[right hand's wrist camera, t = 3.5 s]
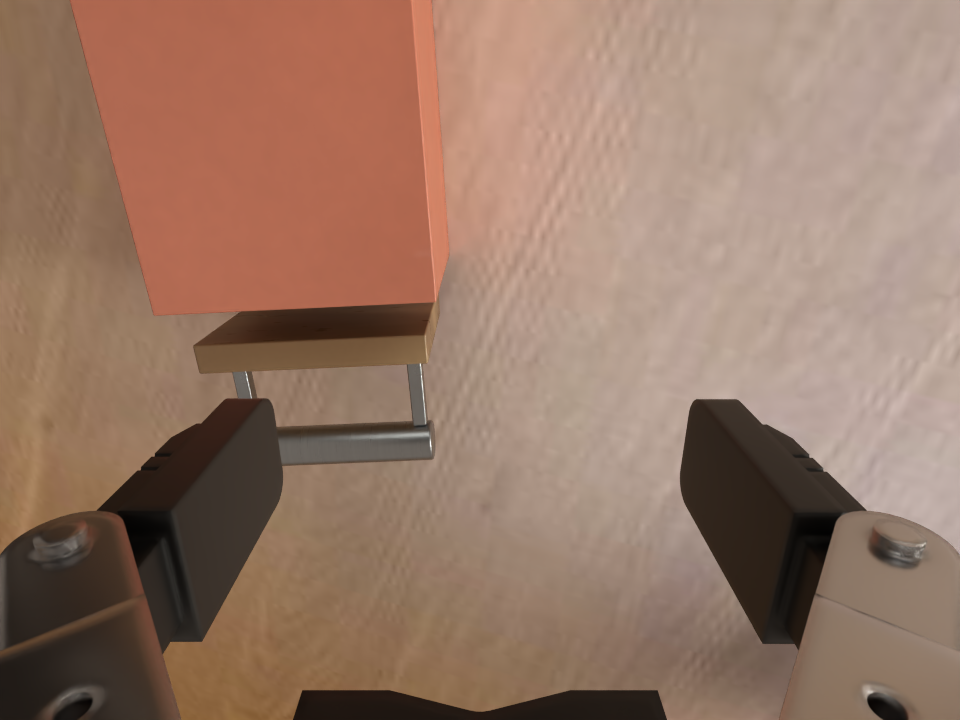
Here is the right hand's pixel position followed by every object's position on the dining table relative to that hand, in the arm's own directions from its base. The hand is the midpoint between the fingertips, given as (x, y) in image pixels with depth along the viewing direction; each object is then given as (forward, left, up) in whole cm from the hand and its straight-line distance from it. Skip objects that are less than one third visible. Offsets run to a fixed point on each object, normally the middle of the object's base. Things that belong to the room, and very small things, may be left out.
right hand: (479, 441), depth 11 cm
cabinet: (+9, +6, -19) cm, 21 cm away
